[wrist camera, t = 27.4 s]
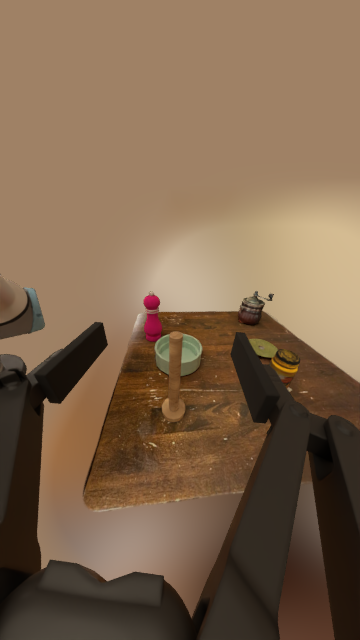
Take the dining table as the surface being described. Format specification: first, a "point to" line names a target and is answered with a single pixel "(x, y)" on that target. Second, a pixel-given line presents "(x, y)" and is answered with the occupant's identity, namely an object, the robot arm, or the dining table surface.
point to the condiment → (285, 365)
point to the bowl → (189, 354)
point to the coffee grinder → (252, 309)
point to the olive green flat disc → (263, 348)
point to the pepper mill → (152, 318)
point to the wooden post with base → (174, 380)
